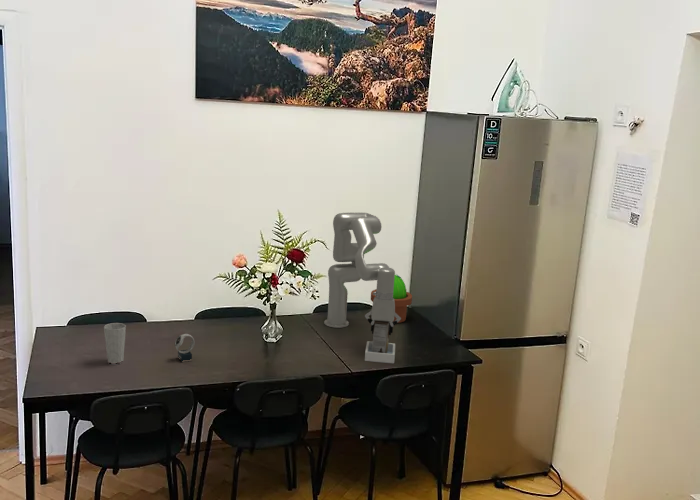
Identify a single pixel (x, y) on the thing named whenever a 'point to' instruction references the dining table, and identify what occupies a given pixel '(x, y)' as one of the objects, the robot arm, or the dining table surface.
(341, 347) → the dining table surface
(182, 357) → the watch
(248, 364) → the dining table surface
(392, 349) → the shallow grey tray
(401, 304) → the potted cactus
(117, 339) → the cup
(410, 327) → the dining table surface
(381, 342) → the coffee box
